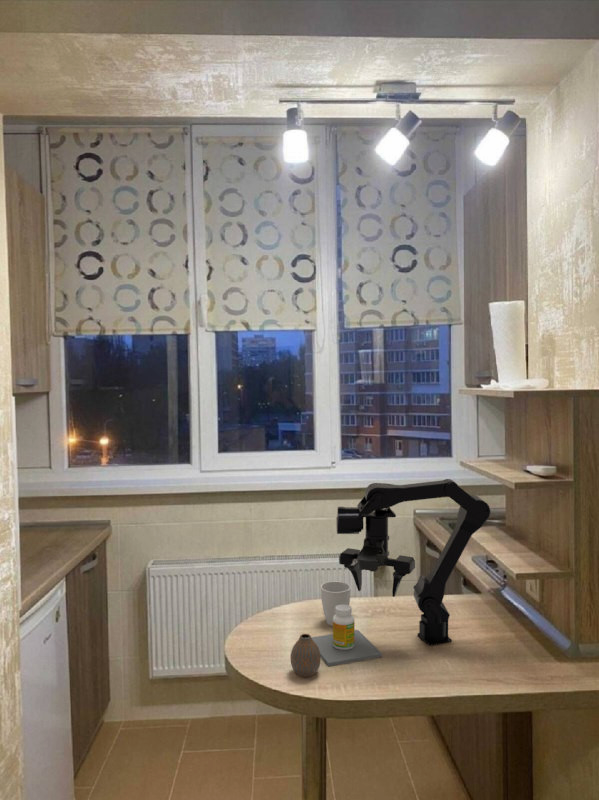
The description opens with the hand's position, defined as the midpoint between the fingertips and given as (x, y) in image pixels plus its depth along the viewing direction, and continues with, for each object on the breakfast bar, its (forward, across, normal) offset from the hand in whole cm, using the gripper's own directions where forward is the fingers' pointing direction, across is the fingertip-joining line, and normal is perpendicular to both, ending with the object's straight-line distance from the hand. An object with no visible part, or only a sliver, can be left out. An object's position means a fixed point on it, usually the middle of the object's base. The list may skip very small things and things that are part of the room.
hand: (376, 593), depth 157 cm
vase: (+12, -9, -23) cm, 28 cm away
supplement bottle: (+11, -6, -8) cm, 15 cm away
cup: (+12, -13, +5) cm, 19 cm away
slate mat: (+12, -6, -8) cm, 16 cm away
